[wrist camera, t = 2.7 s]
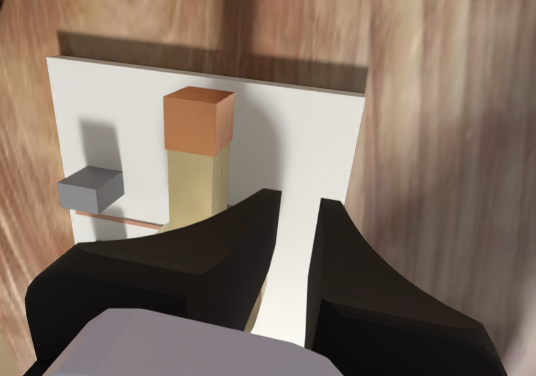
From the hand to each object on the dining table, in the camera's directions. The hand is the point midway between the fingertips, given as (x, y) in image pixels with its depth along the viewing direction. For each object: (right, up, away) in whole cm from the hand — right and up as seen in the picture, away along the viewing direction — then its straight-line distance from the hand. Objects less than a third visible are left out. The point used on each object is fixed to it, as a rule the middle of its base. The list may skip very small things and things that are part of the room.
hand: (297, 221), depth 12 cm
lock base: (-5, -1, +13) cm, 14 cm away
